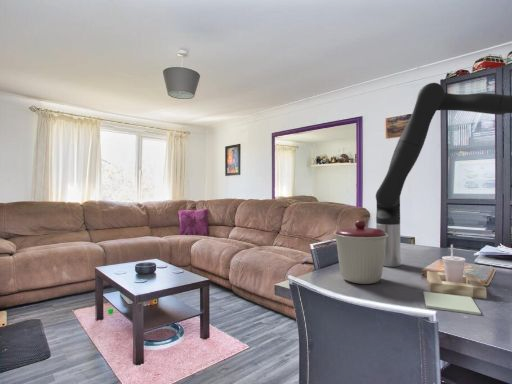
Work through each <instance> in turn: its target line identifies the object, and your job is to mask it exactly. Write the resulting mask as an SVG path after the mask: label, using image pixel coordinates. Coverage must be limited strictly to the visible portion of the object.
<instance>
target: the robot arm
mask: <svg viewBox="0 0 512 384" xmlns="http://www.w3.org/2000/svg"><path fill="white" fill-rule="evenodd" d="M437 111H462V112H472V113H480V114H488V115H489V114H490V115H498V116H501V115H505V114H512V94H510V95H509V94H508V95H507V94H501V93H499V94H498V93H488V92H487V93H479V92H478V93H470V94H469V93H468V94H464V93H463V94H461V93H460V94H458V93H457V94H456V93H450V92H449V93H448V92H446V91H445V90H444V87H443V85H441V84H440V83H437V82H429V83H427V84H425V85H424V86H423V87H421V89H420V90H419V91H418V93H417V96H416V102H415V104H414V108H413V110H412V114H411V115H410V117H409V120H408V122H407V124H406V126H405V127H404V129H403V130H402V133H401V135H400V137H399V139H398V141H397V144H396V146H395V147H394V148H395V149H394V151H393V154H392V157H391V159H390V163H389V167H388V170H387V172H386V175H385V177H384V179H383V180H382V182H381V184H380V186H379V187H378V189H377V191H376V193H375V201H376V217H375V218H376V219H375V220H376V221H375V222H376V224H375V225H376V227H375V229H380V230H382V231H384V232H385V233H387V234H388V237H386V245H385V254H384V263H383V267H392V268H393V267H394V268H395V267H400V266H401V265H402V264H401V262H402V259H401V254H402V253H401V195H402V191H403V188H404V185H405V182H406V179H407V177H408V175H409V174H410V172H411V171H412V169H413V167H414V165H415V164H416V163H417V160H418V158H419V157H420V155H421V152H422V149H423V147H424V144H425V141H426V138H427V135H428V132H429V128H430V125H431V122H432V120H433V118H434V116H435V114H436V112H437ZM510 156H511V157H510V167H511V168H512V153H511V155H510ZM510 189H512V177H511V180H510Z"/></svg>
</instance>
